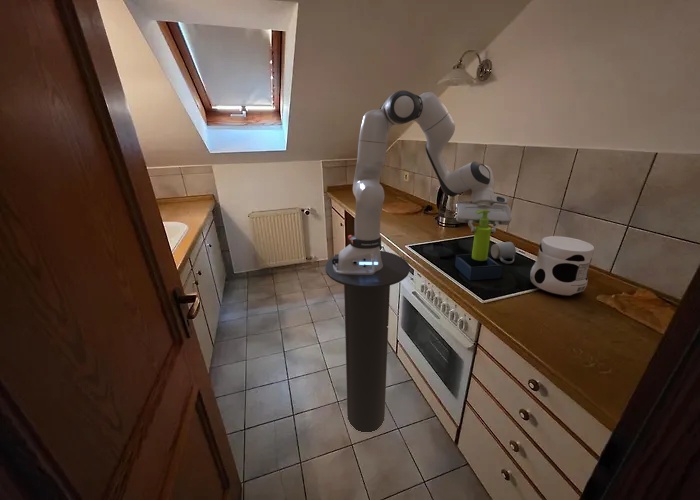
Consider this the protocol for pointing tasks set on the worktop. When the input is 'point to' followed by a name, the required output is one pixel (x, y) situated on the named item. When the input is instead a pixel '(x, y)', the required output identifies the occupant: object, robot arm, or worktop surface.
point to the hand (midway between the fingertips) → (483, 232)
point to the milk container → (562, 265)
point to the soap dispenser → (481, 238)
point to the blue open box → (478, 268)
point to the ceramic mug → (503, 251)
